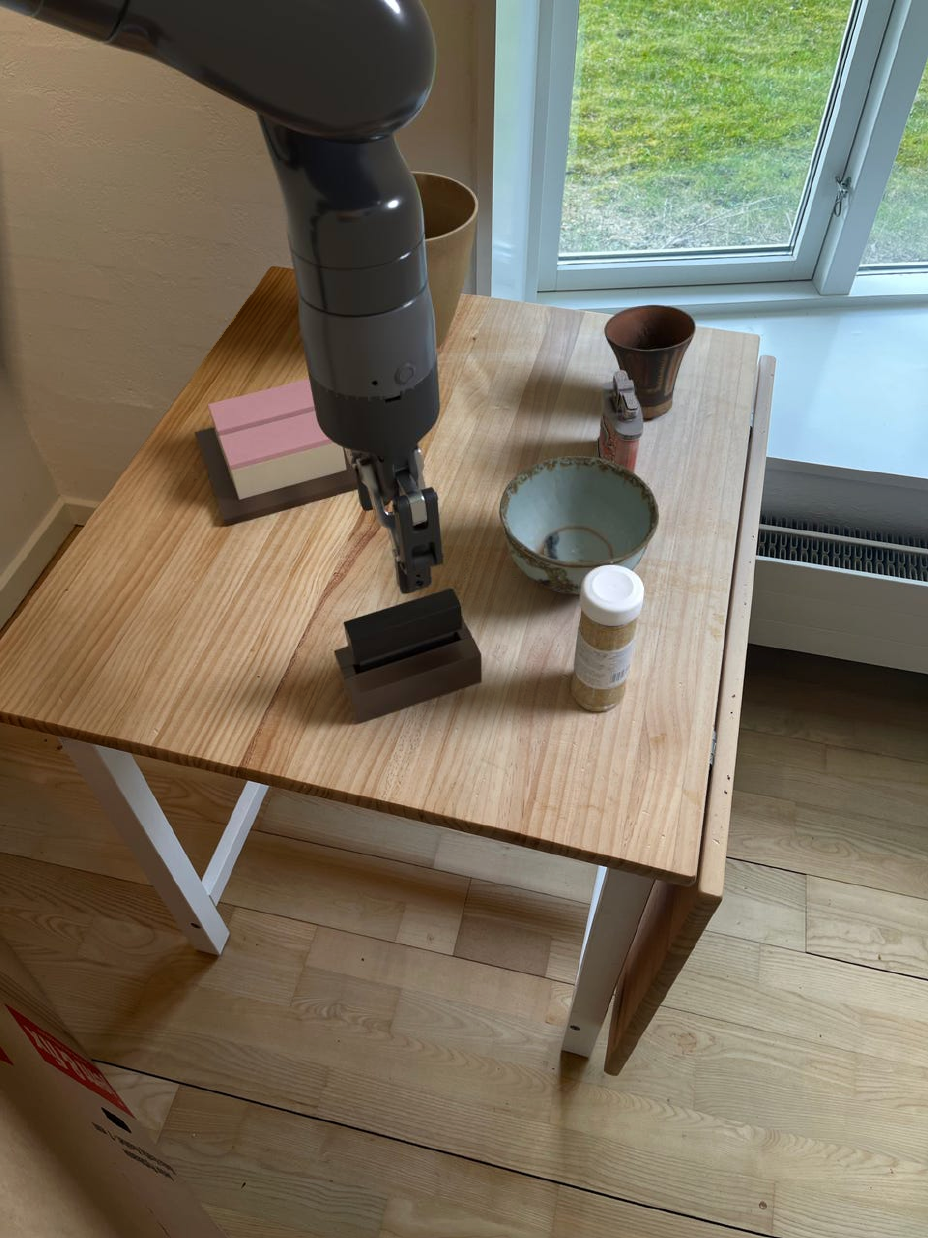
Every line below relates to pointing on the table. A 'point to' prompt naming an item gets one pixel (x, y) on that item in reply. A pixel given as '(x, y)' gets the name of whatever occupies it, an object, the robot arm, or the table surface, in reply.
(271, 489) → the cake
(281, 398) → the slice
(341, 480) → the cake board
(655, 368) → the cup
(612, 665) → the sprinkles bottle
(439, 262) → the plant pot
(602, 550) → the bowl
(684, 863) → the table surface
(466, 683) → the knife stand
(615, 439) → the lighter
